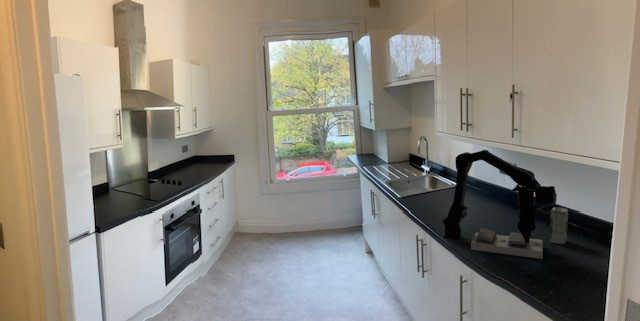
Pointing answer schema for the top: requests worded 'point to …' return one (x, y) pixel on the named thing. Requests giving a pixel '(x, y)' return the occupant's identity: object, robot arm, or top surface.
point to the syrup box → (558, 225)
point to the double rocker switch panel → (508, 246)
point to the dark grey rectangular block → (486, 234)
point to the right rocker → (516, 238)
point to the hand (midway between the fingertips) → (527, 239)
